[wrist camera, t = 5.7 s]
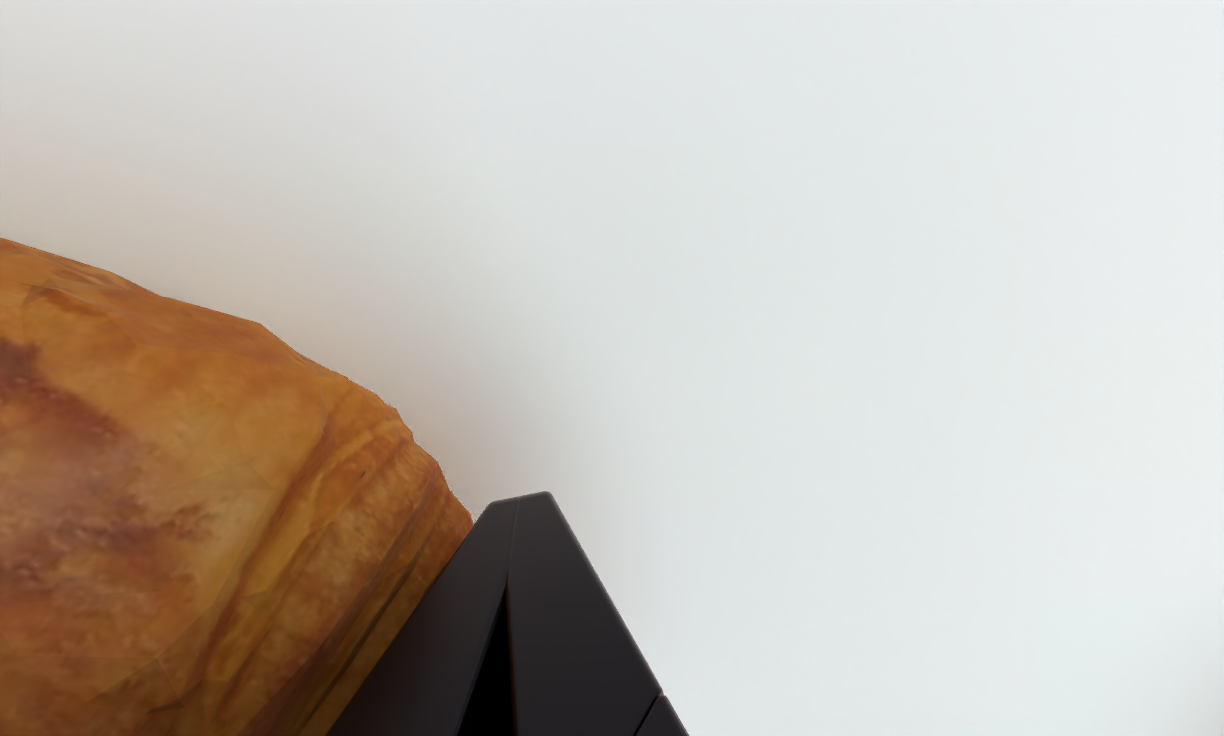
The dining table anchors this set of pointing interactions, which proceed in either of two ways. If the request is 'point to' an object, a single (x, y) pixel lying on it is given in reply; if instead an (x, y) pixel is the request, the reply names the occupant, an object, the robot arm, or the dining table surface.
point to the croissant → (193, 517)
